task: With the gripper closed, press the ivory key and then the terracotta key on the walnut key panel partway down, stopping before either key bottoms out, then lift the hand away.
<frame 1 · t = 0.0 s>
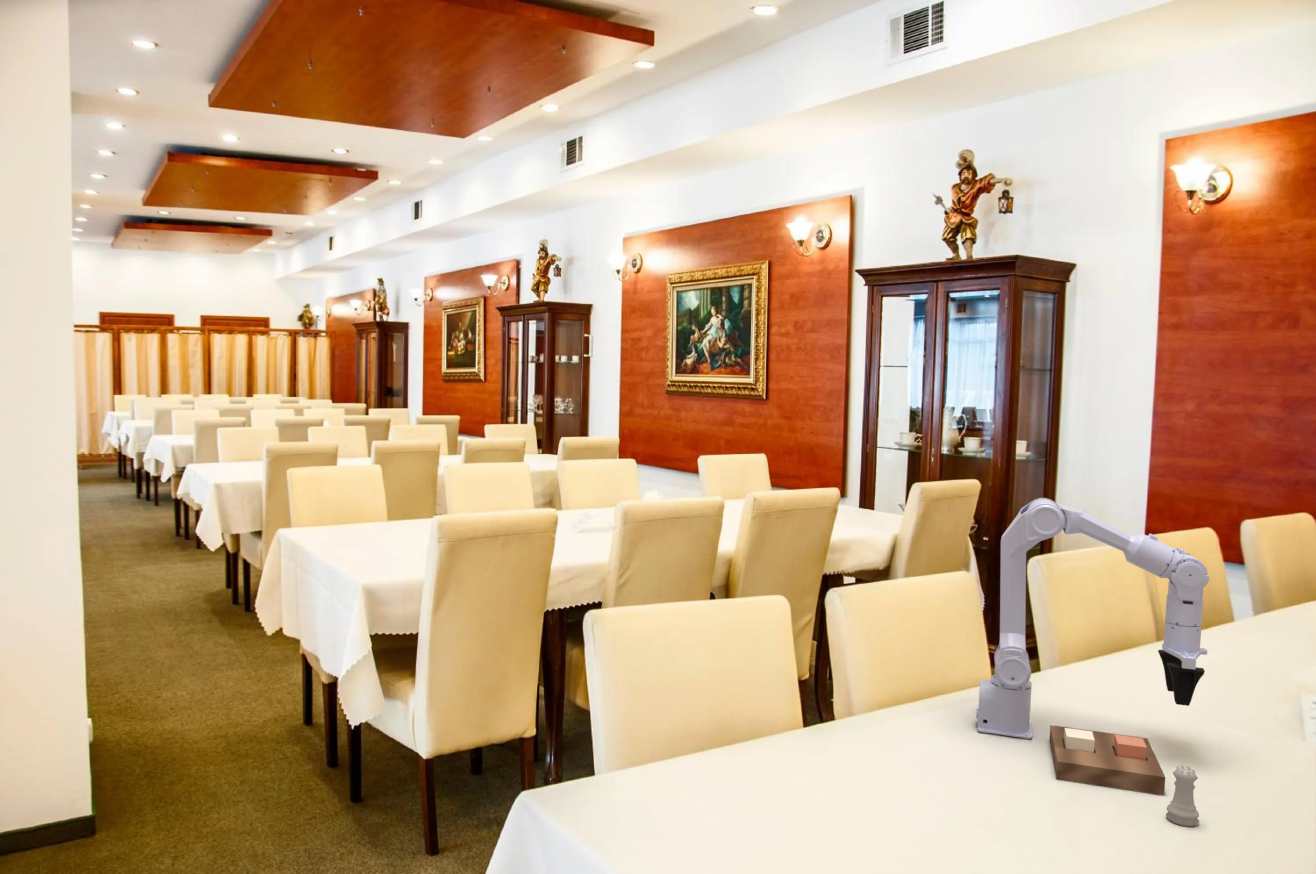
hand: (1178, 697, 171), 10 cm above the table, tool pointing down, fingers open, 7 cm apart
key panel: (1102, 766, 165), on the table
terracotta key: (1129, 751, 163), point 3 cm above the table, slide at 0.0 cm
rook chess piece: (1182, 822, 145), on the table
ivory key: (1078, 743, 166), point 3 cm above the table, slide at 0.0 cm
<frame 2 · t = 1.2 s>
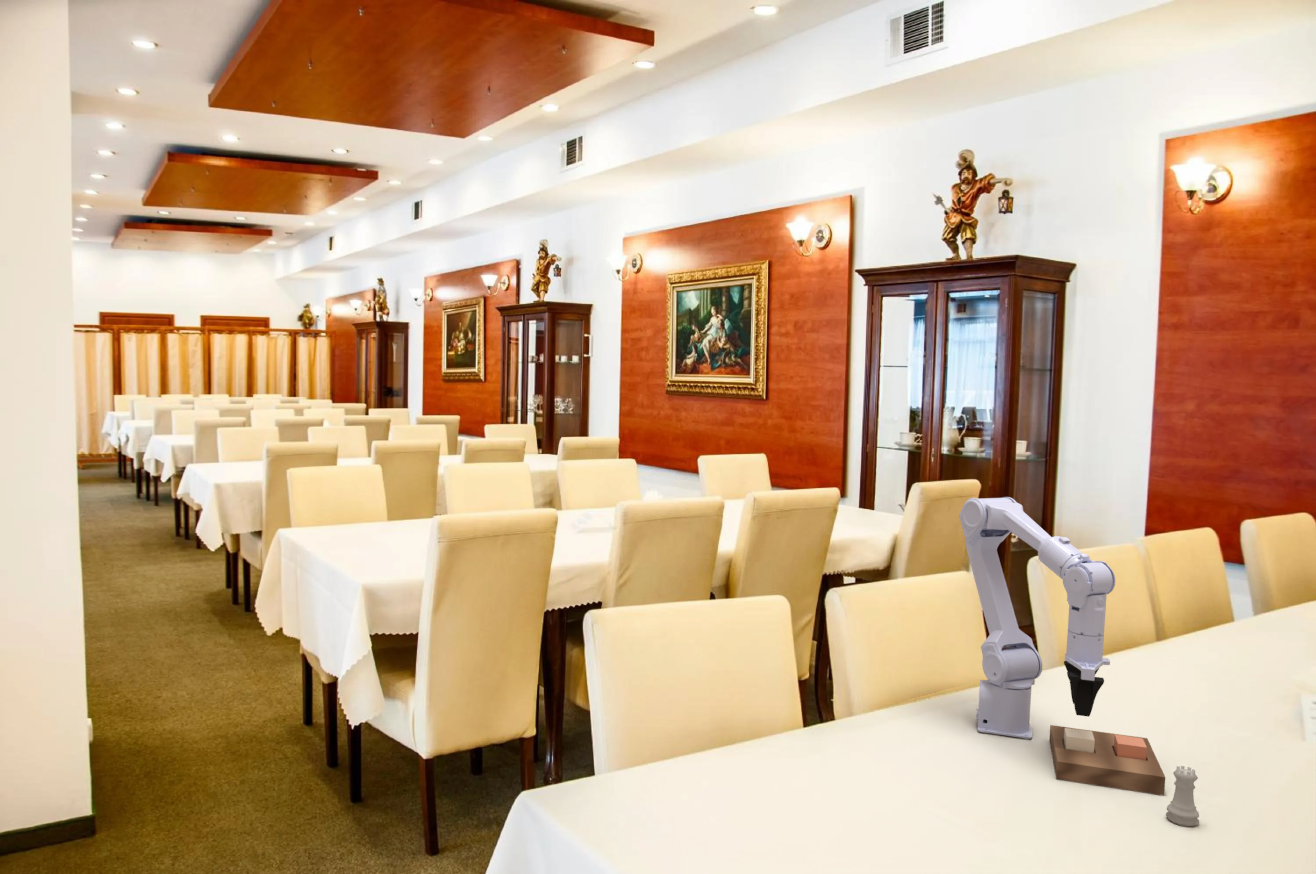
hand: (1080, 709, 165), 9 cm above the table, tool pointing down, fingers open, 5 cm apart
nothing on the table moved.
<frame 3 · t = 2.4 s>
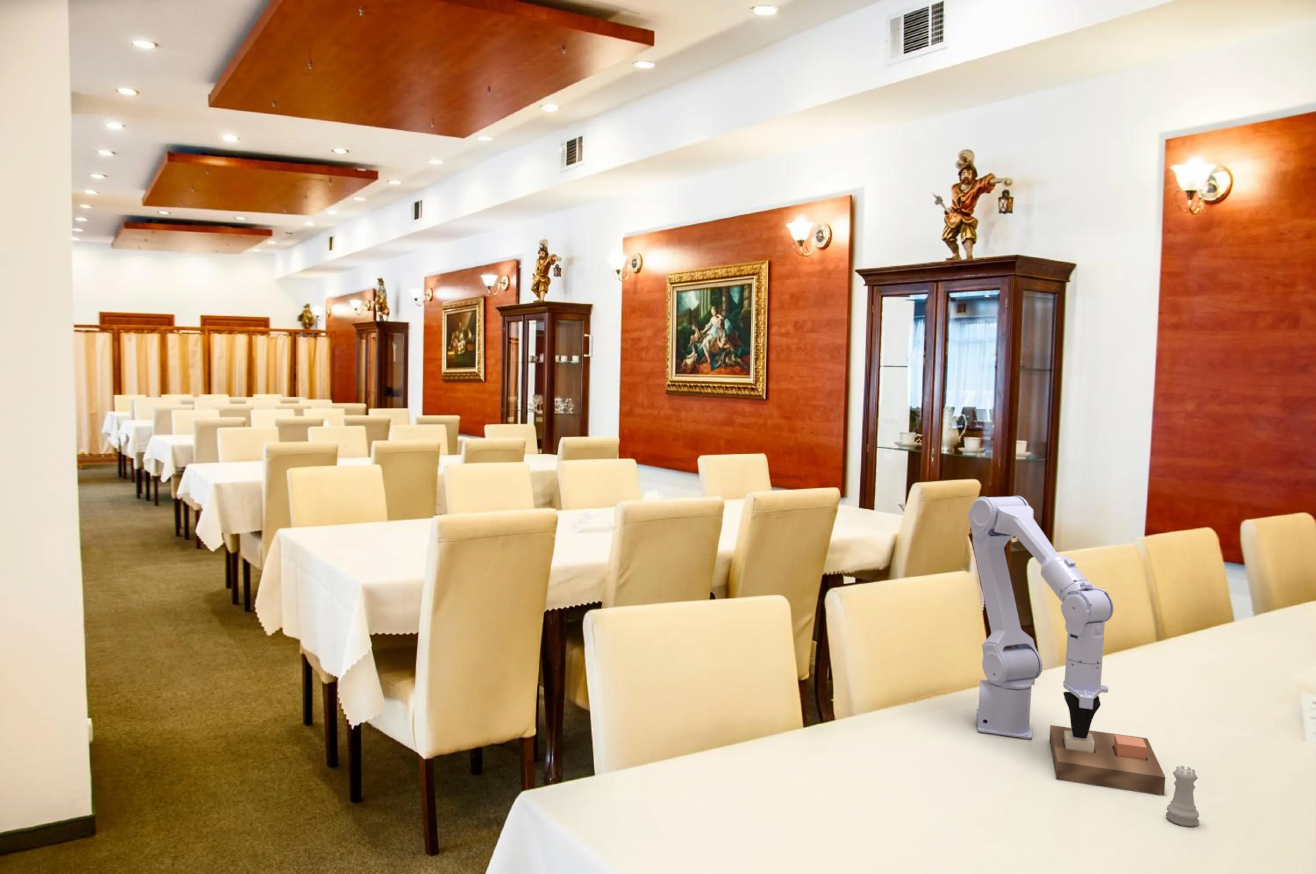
hand: (1079, 736, 166), 5 cm above the table, tool pointing down, fingers closed, pressing on ivory key
ivory key: (1078, 746, 166), point 3 cm above the table, slide at 0.5 cm, touching gripper
everything else where it was.
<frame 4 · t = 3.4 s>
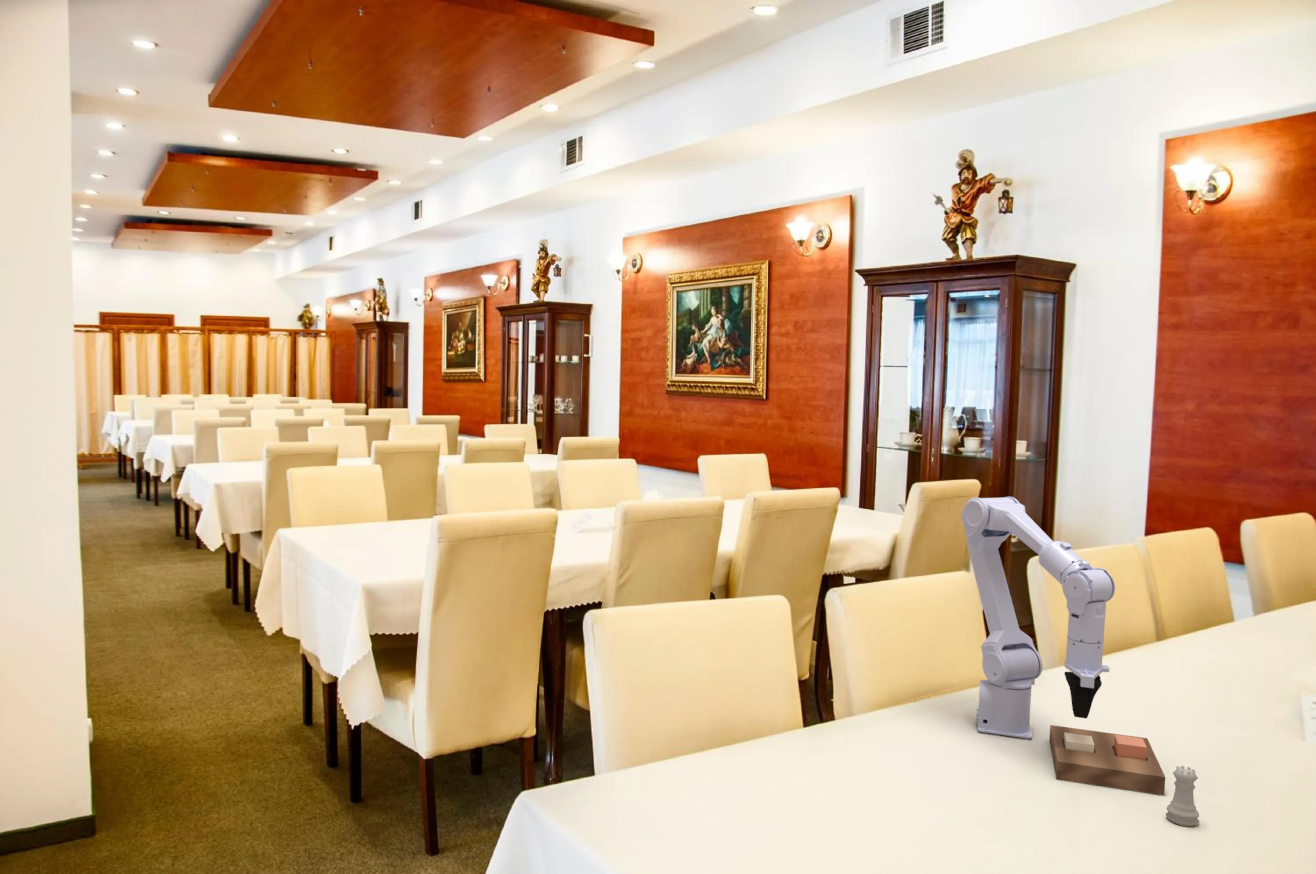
hand: (1080, 716, 166), 8 cm above the table, tool pointing down, fingers closed
ivory key: (1078, 748, 166), point 3 cm above the table, slide at 0.8 cm
everything else where it was.
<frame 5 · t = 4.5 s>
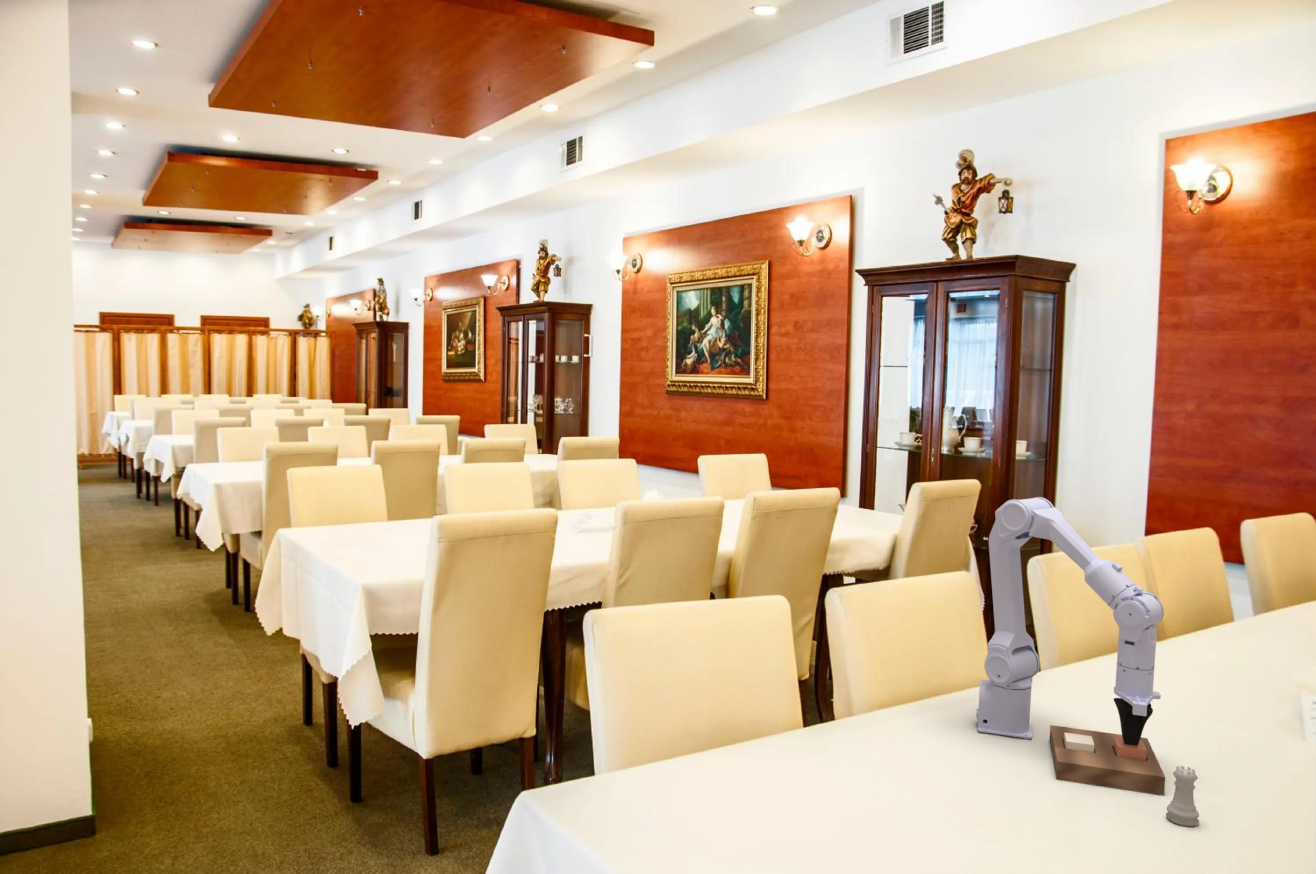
hand: (1130, 743, 163), 5 cm above the table, tool pointing down, fingers closed, pressing on terracotta key
terracotta key: (1129, 753, 163), point 3 cm above the table, slide at 0.5 cm, touching gripper
everything else where it was.
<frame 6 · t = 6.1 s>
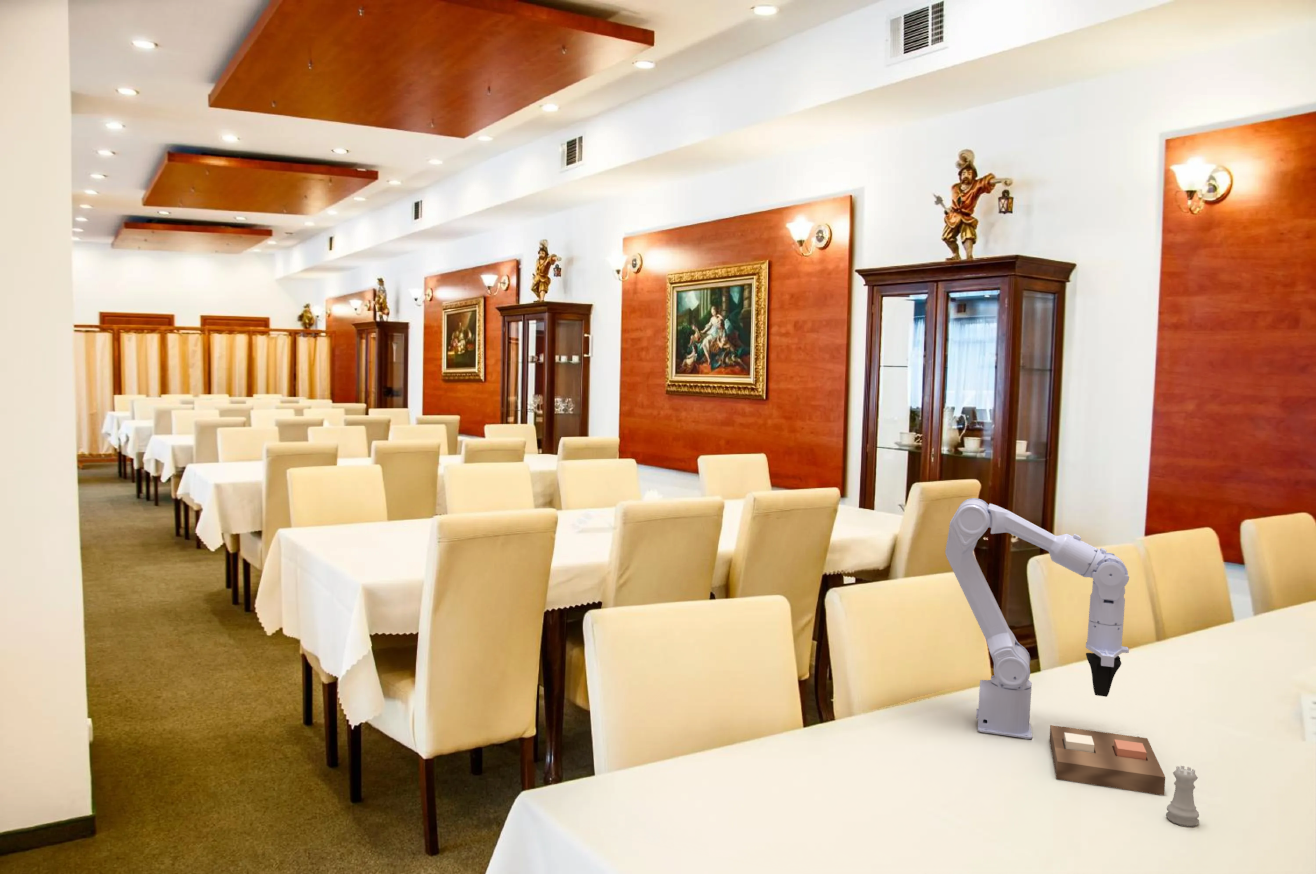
hand: (1100, 694, 175), 9 cm above the table, tool pointing down, fingers closed
terracotta key: (1129, 755, 163), point 3 cm above the table, slide at 0.8 cm
everything else where it was.
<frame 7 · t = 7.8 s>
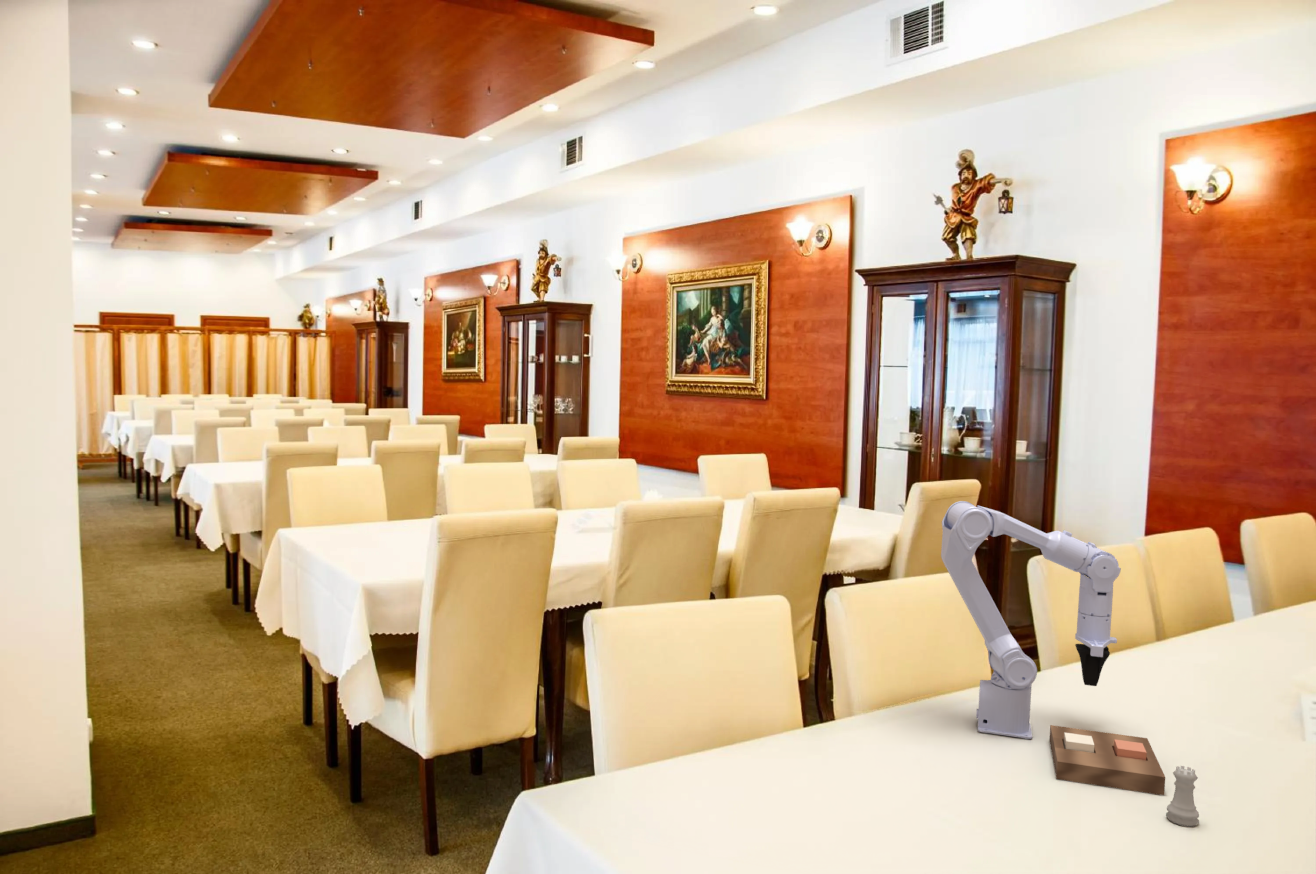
hand: (1090, 684, 180), 9 cm above the table, tool pointing down, fingers closed
nothing on the table moved.
at the end: ivory key slide at 0.8 cm; terracotta key slide at 0.8 cm; rook chess piece moved 0.2 cm from its start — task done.
